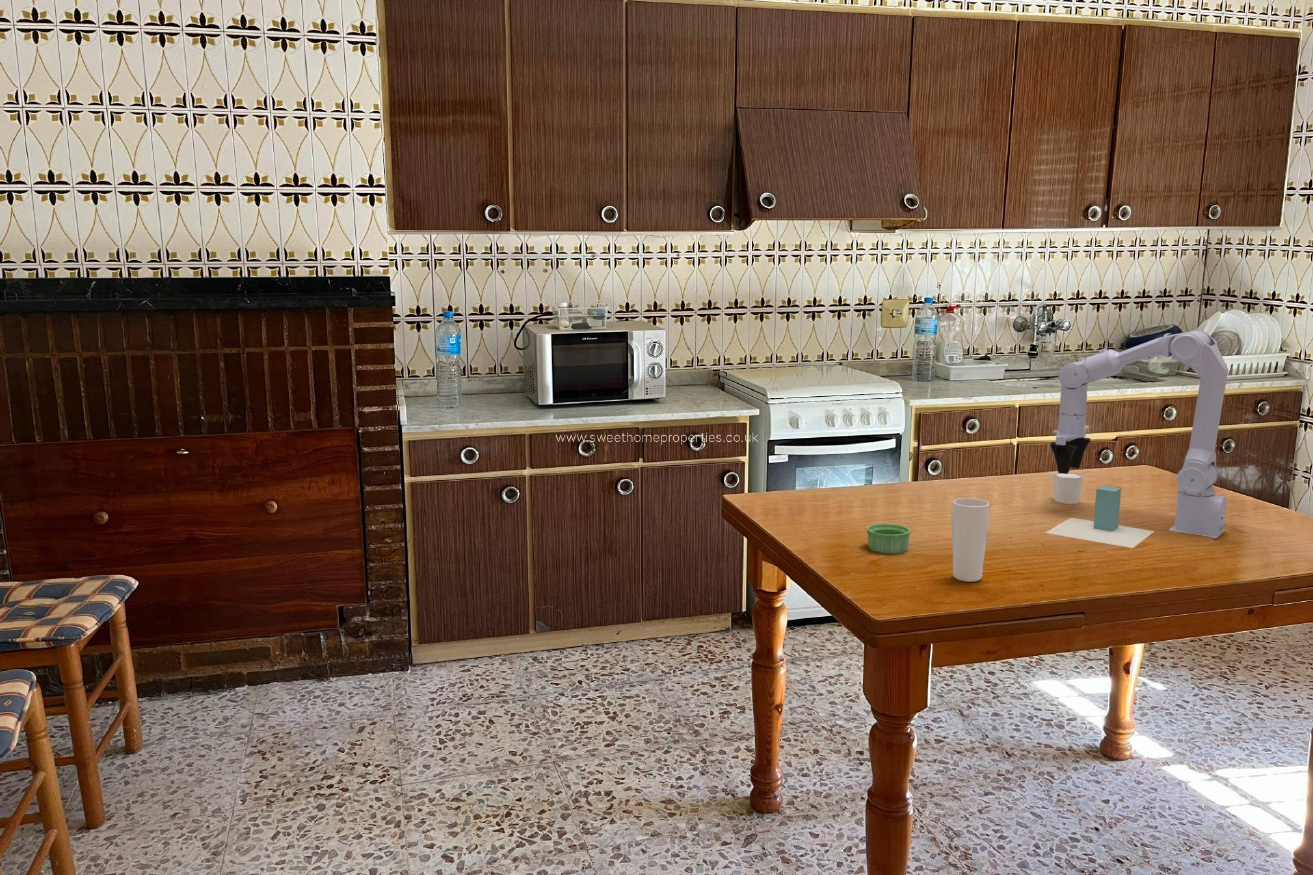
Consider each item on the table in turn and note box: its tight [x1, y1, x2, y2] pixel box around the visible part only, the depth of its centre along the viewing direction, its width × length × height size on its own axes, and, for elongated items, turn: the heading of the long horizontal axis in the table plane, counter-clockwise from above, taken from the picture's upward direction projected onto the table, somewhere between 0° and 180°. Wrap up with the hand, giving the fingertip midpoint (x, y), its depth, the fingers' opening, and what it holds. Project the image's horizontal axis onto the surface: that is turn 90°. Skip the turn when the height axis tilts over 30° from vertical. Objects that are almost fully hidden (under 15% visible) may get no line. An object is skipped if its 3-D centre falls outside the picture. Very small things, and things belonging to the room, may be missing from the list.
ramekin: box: [866, 523, 912, 555], centre depth 212 cm, size 9×9×4 cm
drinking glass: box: [951, 497, 990, 583], centre depth 192 cm, size 7×7×15 cm
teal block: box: [1093, 485, 1122, 532], centre depth 223 cm, size 4×4×9 cm
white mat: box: [1045, 517, 1155, 549], centre depth 221 cm, size 18×16×1 cm
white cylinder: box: [1053, 472, 1085, 505], centre depth 247 cm, size 7×7×7 cm
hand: (1068, 470), depth 238 cm, fingers open, 7 cm apart
